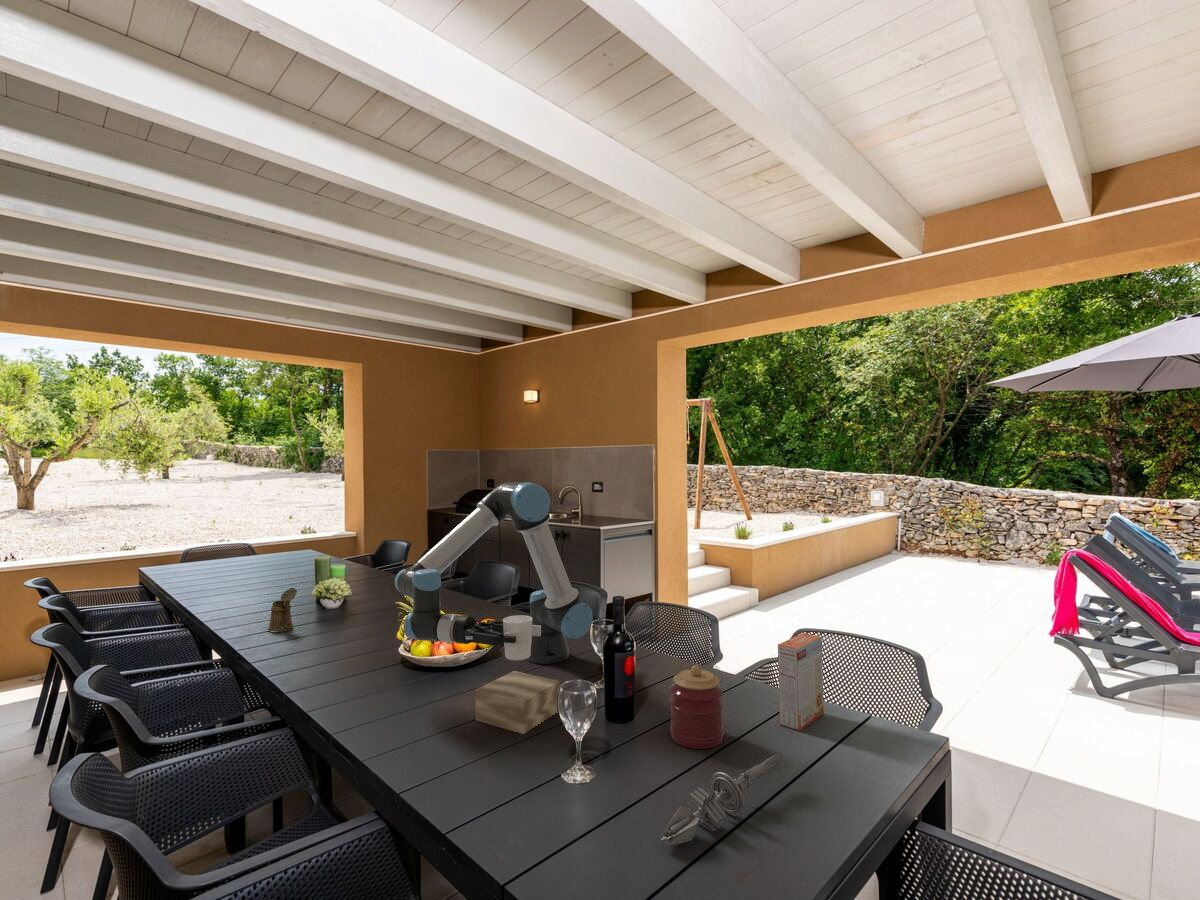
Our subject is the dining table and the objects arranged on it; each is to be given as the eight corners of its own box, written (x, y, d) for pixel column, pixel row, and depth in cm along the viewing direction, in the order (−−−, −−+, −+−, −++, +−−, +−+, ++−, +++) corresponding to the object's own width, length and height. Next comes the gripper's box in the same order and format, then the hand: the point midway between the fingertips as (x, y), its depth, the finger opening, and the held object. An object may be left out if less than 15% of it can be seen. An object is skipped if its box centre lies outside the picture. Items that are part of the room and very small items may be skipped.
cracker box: (803, 708, 162) (802, 631, 163) (824, 715, 158) (823, 636, 158) (777, 724, 152) (776, 643, 153) (799, 732, 148) (798, 648, 148)
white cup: (527, 662, 155) (527, 623, 155) (498, 660, 156) (498, 622, 156) (536, 652, 162) (536, 615, 162) (509, 650, 164) (509, 614, 164)
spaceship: (801, 754, 121) (770, 727, 127) (684, 842, 99) (652, 805, 105) (791, 782, 124) (760, 755, 130) (675, 874, 102) (644, 836, 108)
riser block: (514, 698, 170) (514, 670, 170) (560, 710, 162) (559, 681, 162) (475, 720, 156) (475, 689, 156) (523, 734, 148) (523, 702, 148)
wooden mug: (280, 635, 233) (280, 589, 233) (263, 630, 240) (263, 585, 241) (302, 630, 240) (302, 585, 240) (285, 625, 248) (286, 582, 248)
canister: (660, 731, 149) (660, 661, 149) (704, 722, 154) (703, 654, 154) (688, 755, 137) (687, 678, 137) (734, 744, 142) (733, 670, 143)
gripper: (475, 632, 174) (548, 638, 168) (438, 654, 154) (519, 662, 148) (475, 606, 174) (548, 611, 168) (438, 625, 154) (519, 632, 148)
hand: (534, 635), depth 158 cm, fingers closed on white cup, 8 cm apart
